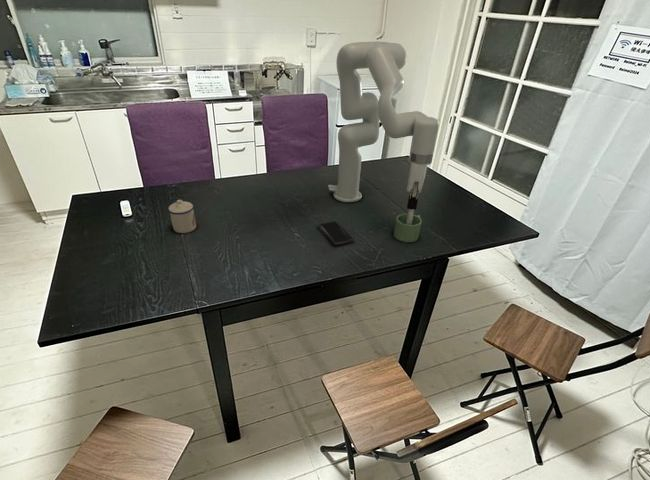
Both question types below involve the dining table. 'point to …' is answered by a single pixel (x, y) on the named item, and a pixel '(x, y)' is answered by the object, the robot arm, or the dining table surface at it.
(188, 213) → the teacup with lid
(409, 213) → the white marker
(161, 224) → the dining table surface
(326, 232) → the phone
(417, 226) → the mug
